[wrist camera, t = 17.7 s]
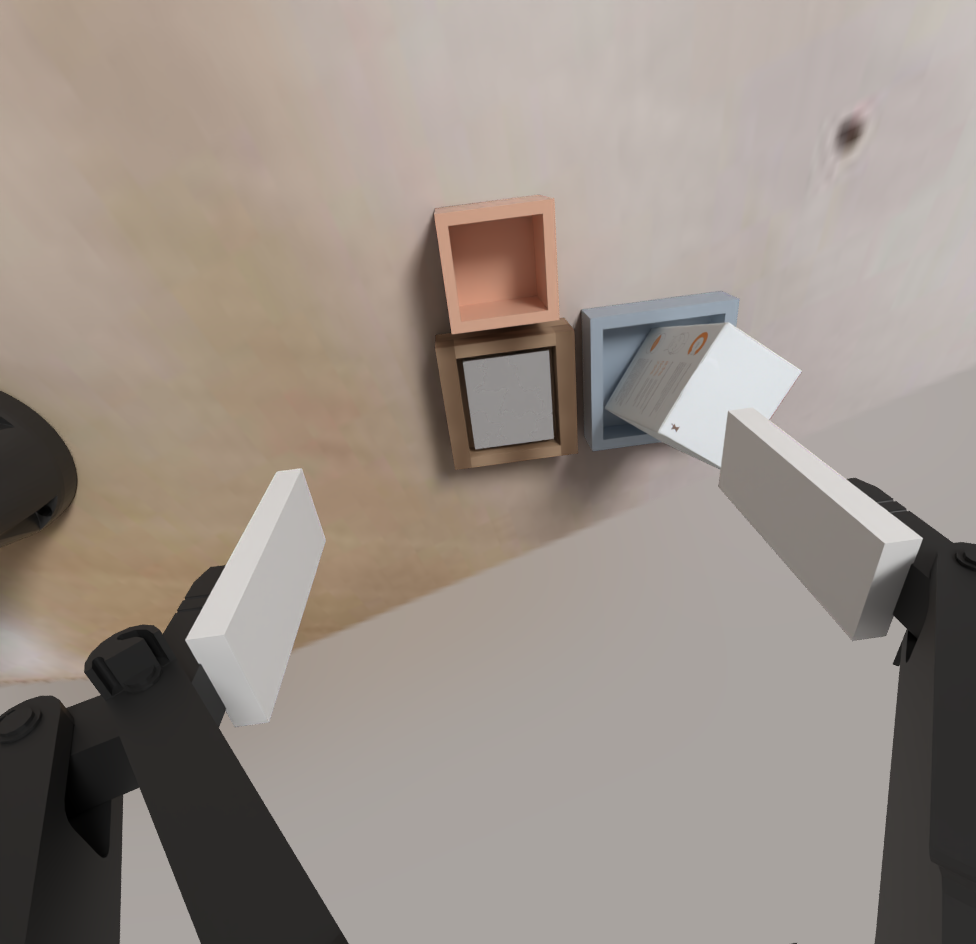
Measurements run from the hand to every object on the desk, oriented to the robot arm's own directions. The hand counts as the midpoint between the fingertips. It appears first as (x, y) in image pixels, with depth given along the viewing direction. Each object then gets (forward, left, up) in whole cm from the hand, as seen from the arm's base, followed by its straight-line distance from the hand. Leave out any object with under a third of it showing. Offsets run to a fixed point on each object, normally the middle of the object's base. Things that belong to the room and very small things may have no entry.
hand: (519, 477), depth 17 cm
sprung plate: (+2, -9, -28) cm, 30 cm away
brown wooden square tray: (+2, -9, -31) cm, 32 cm away
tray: (+15, -9, -31) cm, 35 cm away
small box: (+15, -10, -29) cm, 34 cm away
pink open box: (+2, +2, -31) cm, 31 cm away
